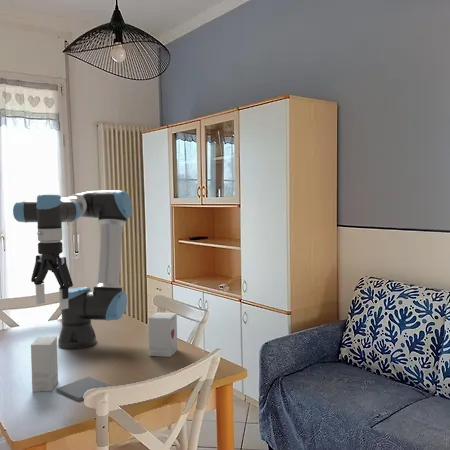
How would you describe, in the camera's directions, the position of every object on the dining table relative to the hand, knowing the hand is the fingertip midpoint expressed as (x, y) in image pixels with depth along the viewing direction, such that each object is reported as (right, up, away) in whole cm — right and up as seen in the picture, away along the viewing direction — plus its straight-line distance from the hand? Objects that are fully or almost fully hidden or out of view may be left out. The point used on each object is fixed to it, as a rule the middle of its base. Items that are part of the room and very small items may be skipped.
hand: (52, 306), depth 158 cm
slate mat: (+12, -26, -4) cm, 29 cm away
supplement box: (+33, -24, +30) cm, 50 cm away
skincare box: (-1, -26, -1) cm, 26 cm away
